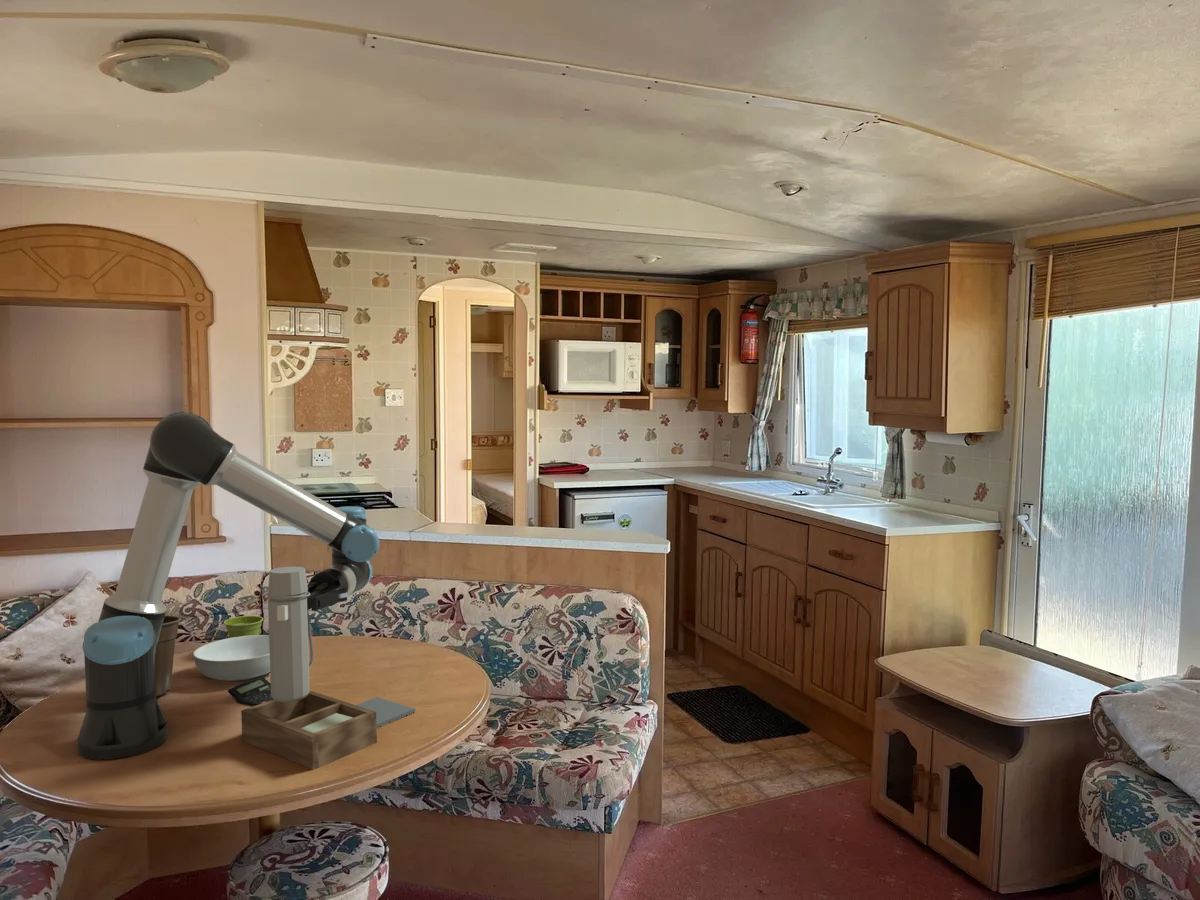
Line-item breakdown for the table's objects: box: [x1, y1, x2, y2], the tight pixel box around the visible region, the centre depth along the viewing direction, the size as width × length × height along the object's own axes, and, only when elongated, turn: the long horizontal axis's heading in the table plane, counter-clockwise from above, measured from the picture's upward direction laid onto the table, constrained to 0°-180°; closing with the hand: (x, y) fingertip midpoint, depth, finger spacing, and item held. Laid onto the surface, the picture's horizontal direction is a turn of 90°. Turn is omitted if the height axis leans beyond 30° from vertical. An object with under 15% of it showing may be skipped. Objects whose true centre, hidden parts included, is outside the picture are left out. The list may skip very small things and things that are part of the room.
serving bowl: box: [192, 634, 270, 682], centre depth 203 cm, size 21×21×7 cm
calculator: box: [227, 675, 274, 707], centre depth 188 cm, size 9×12×3 cm
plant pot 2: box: [223, 615, 264, 638], centre depth 220 cm, size 9×9×9 cm
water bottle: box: [266, 565, 314, 702], centre depth 165 cm, size 9×8×25 cm
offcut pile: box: [301, 713, 353, 733], centre depth 160 cm, size 10×5×5 cm, turn 151°
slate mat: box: [355, 696, 416, 729], centre depth 177 cm, size 12×12×1 cm
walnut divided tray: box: [240, 690, 378, 771], centre depth 164 cm, size 14×22×6 cm, turn 55°
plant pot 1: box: [155, 615, 182, 697], centre depth 188 cm, size 16×16×16 cm
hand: (281, 613), depth 160 cm, fingers closed
